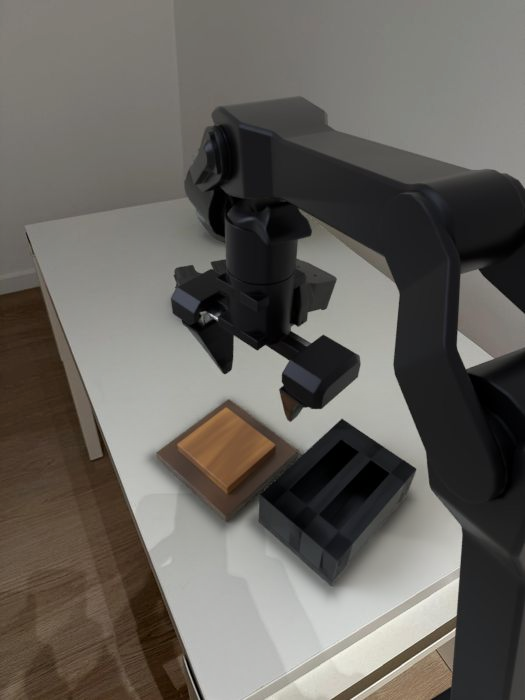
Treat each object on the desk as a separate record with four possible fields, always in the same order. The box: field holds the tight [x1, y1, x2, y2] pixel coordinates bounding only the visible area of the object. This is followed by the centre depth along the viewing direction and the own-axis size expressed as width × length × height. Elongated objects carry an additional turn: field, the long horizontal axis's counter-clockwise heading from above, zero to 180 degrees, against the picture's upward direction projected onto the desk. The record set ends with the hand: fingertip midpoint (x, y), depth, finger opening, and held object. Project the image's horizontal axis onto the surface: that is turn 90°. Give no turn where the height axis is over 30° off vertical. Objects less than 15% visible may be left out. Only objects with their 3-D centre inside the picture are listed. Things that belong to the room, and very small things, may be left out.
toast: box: [177, 407, 276, 494], centre depth 61 cm, size 1×8×8 cm
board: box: [155, 399, 299, 523], centre depth 62 cm, size 12×12×1 cm
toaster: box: [258, 418, 418, 587], centre depth 56 cm, size 10×15×6 cm, turn 137°
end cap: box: [173, 258, 226, 290], centre depth 82 cm, size 10×7×7 cm
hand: (258, 394), depth 53 cm, fingers open, 9 cm apart
